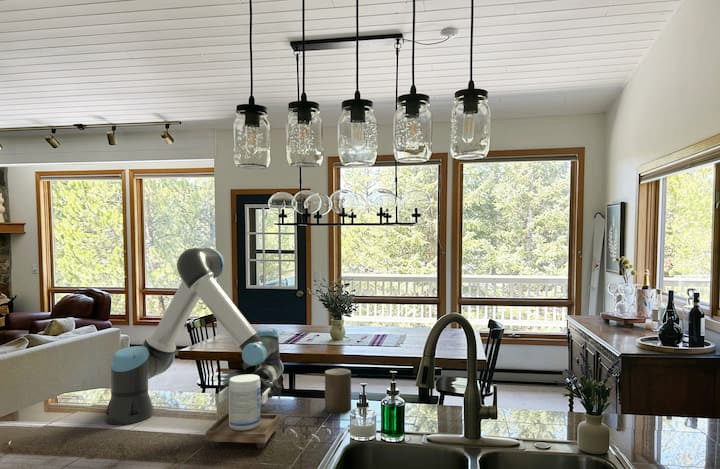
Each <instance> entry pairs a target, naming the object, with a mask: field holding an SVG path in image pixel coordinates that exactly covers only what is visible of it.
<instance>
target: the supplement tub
mask: <svg viewBox="0 0 720 469" xmlns="http://www.w3.org/2000/svg"><path fill="white" fill-rule="evenodd" d="M228 383H229V396H228V413H229V427H230V428H231V429H233V430H236V431H246V430H251V429H254V428H256V427H258V426H259V424H260V419H261V414H262V413H261V407H262V406H261V404H262V399H261V393H260V377H259V376H258V375H253V374H252V373H250V374H249V373H248V374H239V375H234V376H232V377H230V378H229V382H228Z"/></svg>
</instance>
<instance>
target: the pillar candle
mask: <svg viewBox="0 0 720 469" xmlns="http://www.w3.org/2000/svg"><path fill="white" fill-rule="evenodd" d="M324 410H325V411H326V412H328V413H332V414H344V413H348V412H350V411H351V410H352V371H351V370H350V369H348V368H331V369H327V370H325V371H324Z"/></svg>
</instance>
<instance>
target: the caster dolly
mask: <svg viewBox="0 0 720 469" xmlns="http://www.w3.org/2000/svg"><path fill="white" fill-rule="evenodd" d="M280 424H281V414H280V413H279V414H277V413H261V419H260V424H259V426H258V427H256V428H254V429H251V430H246V431H236V430H233V429H231V428H230V427H229V412H226V413H224V415H222V416H221V418H219V419H218V420H217V421H216V422H215V423H214V424H213V425H212V426H211V427H209V428H208V429H207V431H205V442H210V443H209V444H210V446H211V448H217V447H218V446H219V444H220V442H221V443H222V442H223V443H225V442H226V443H251V444H256V446H255V447H256V448H257V449H258V450H263V449H264V448H265V446H266V443H267V441H268V440H269V439H270V437H271V436H272V434H274V433H275V432H276V431H277V427H279V425H280Z"/></svg>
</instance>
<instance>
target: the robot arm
mask: <svg viewBox="0 0 720 469" xmlns="http://www.w3.org/2000/svg"><path fill="white" fill-rule="evenodd" d="M225 263H226V262H225V260H224V256H223V255H222V253H220V252H219V251H218V250H216V249H213V248H210V247H202V248H199V247H198V248H197V247H191V248H188V249H185V250H184V251H182V252H181V254H180V255H179V257H178V258H177V263H176V269H177V272H178V275H179V277H180V278H181V283H180V284H179V286H178V287H177V289H176V292H175V293H174V296H173V297H172V298H171V301H170V303H169V305H168V306H167V307H166V310H165V312H164V313H163V316H162V317H161V319H160V321H159V323H158V324H157V327H155V330H154V332H153V334H150V335H148V336H146V338H144V339H145V340H144V341H143V343H142V345H135V346H134V345H133V346H129V347H124V348H122V349H119V350H117V351H115V352H114V353H113V355H112V357H111V363H110V368H111V372H110V374H111V375H110V378H111V379H110V381H111V382H110V383H111V384H110V385H111V386H110V389H111V390H110V395H111V396H110V399H109V402H108V404H107V408H106V411H105V413H104V422H105V423H106V424H111V425H114V426H115V425H116V426H118V425H121V426H122V425H130V424H135V423H138V422H142V421H144V420H147V419H149V418H151V417H152V416H153V415H154V406H153V402H152V399H151V397H150V394H149V380H150V379H152V378H154V377H156V376H159V375H161V374H163V373H165V372H166V371H167V370H168V369H169V368H171V366H172V365H173V364H174V360H175V358H176V357H175V352H176V349H177V346H176V344H175V343H176V342H177V339H178V337H179V336H180V334H181V332H182V330H183V329H184V327H185V324H186V323H187V322H188V320H189V318H190V316H191V314H192V313H193V310H194V308H195V306H196V305H197V303H198V302H199V300H201V301H202V303H204V305H205V306H206V307H207V308H208V310H209V311H210V312H211V313H212V315H213V316H214V318H216V320H217V321H218V322H219V324H220V325H221V326H222V327H223V329H224V330H225V332H226V333H227V334H228V335H229V337H230V338H231V339H232V340H233V342H234V343H235V344H236V345H237V346H238V348H239V349H240V350H241V357H242V360H243V362H244V363H245V364H246V365H247V366H250V367H252V366H253V367H255V366H257V365H259V367H258V368H257V369H255V371H253V372H252V373H251V374H253V375H258V376H259V377H260V394H261V404H266V402H268V400H269V399H271V398H273V397H275V396H278V397H279V396H281V395H282V387H281V385H280V384H279V382H278V380H279V378H281V376H282V374H283V373H284V369H285V367H284V363H283V362H282V360H281V355H280V340H279V339H280V337H279V333H278V329H277V328H275V327H270V328H262V329H259V330H257V331H256V330H255V329H254V327H253V326H252V325H251V323H250V322H249V321H248V320H247V318H246V317H245V316H244V315H243V314H242V312H241V311H240V310H239V308H238V307H237V306H236V305H235V304H234V302H233V301H232V299H230V297H229V296H228V294H227V293H226V292H225V291H224V289H223V288H222V286H221V285H220V284H219V283H218V282H217V281H216V279H215V278H218V277H219V276H221V275H222V273H223V272H224V269H225ZM218 390H219V392H218V395H217V396H218V403H222V402H223V401H224V400H225V399H227V398H229V382H228V383H223V384H220V385H219V389H218Z"/></svg>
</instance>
